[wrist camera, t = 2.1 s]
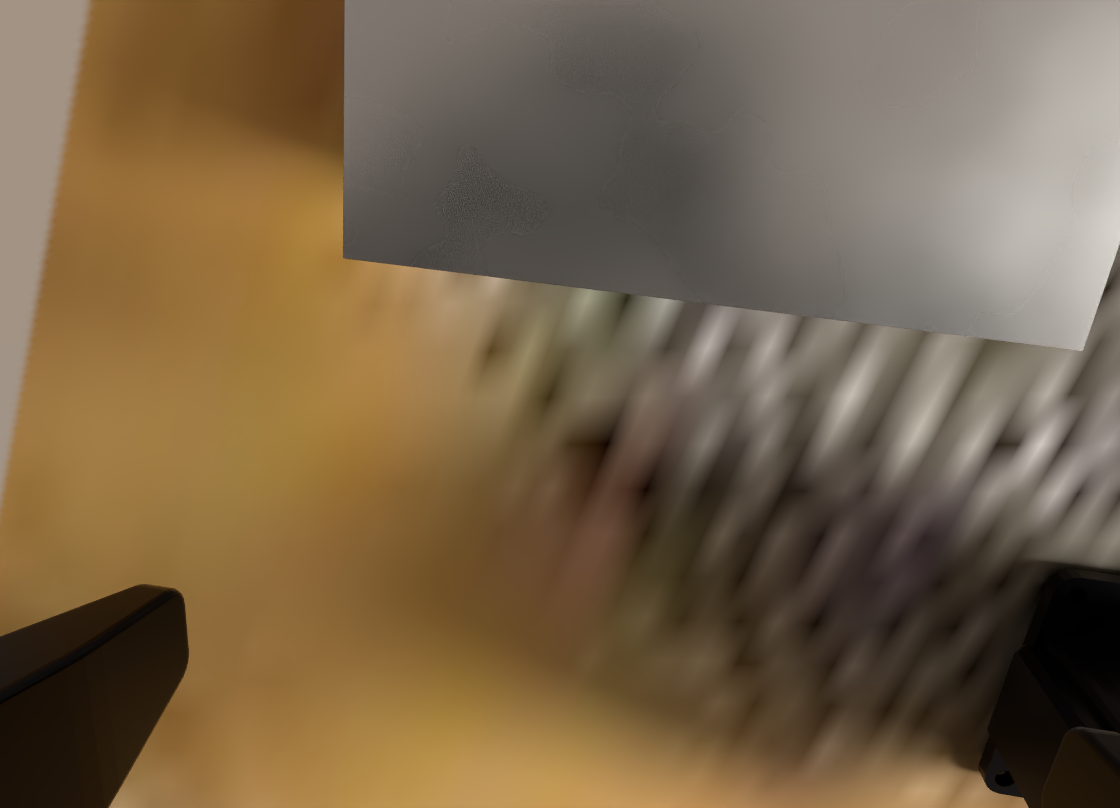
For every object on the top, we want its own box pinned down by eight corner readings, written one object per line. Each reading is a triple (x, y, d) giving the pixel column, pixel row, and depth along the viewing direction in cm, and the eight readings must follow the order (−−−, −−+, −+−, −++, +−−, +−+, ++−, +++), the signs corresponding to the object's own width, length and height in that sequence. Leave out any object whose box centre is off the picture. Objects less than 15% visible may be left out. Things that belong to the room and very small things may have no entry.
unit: (1001, -33, 15) (1351, -193, 7) (922, 268, 17) (1135, 382, 9) (461, -81, 16) (280, -271, 8) (446, 211, 18) (289, 275, 10)
